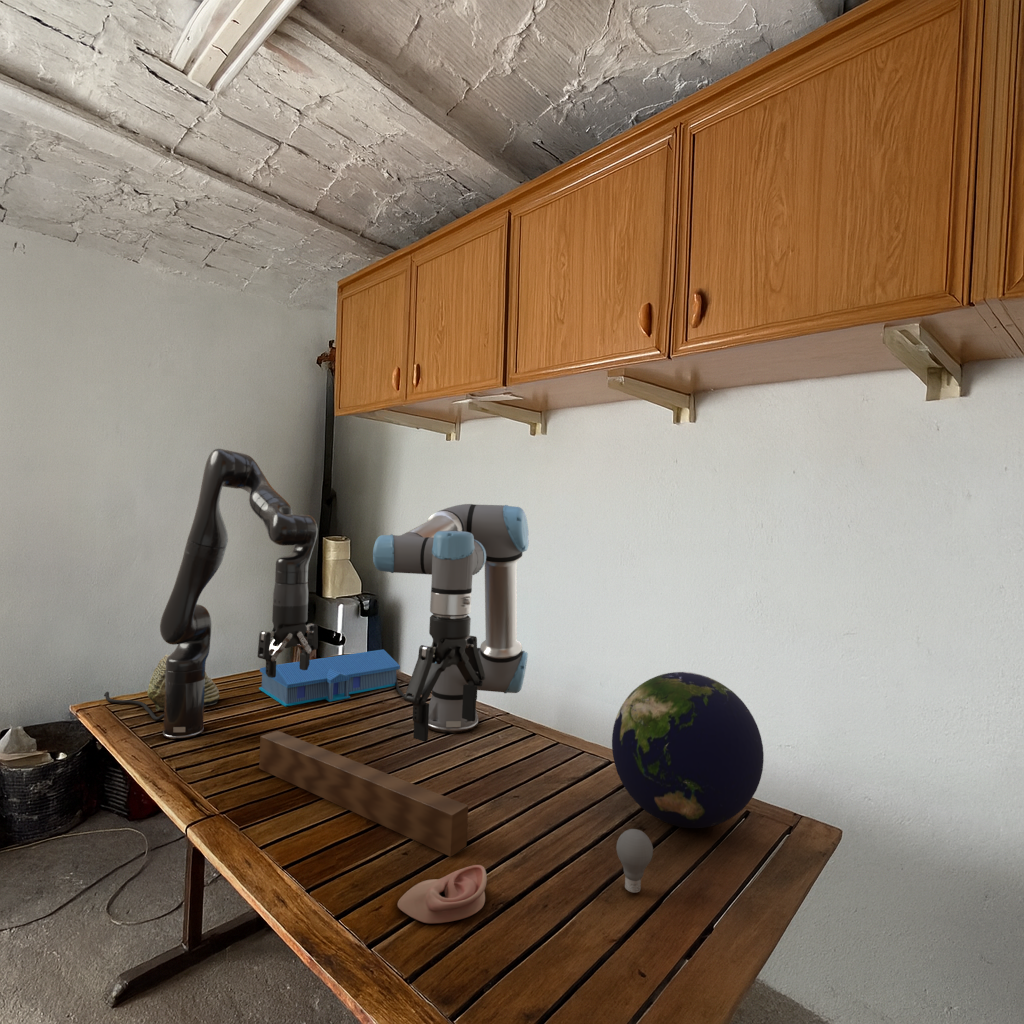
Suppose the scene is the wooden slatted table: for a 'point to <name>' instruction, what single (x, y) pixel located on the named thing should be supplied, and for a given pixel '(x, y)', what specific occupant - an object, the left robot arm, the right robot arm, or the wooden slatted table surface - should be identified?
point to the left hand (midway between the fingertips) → (287, 673)
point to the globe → (687, 750)
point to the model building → (330, 677)
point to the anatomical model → (446, 896)
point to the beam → (367, 792)
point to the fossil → (158, 687)
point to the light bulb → (634, 857)
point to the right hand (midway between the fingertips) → (445, 729)
